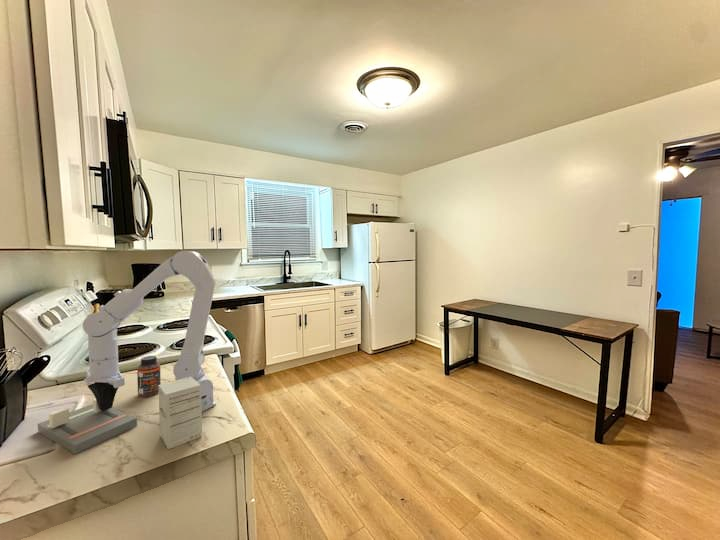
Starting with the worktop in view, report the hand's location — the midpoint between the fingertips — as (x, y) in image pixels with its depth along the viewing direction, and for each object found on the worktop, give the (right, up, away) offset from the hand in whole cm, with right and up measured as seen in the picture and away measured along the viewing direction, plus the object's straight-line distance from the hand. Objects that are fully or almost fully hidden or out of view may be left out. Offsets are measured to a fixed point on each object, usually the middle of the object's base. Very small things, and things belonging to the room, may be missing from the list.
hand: (106, 408), depth 77 cm
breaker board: (-1, -3, -4) cm, 5 cm away
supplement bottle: (0, -3, +16) cm, 16 cm away
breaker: (-6, -1, -6) cm, 9 cm away
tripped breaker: (-2, -1, +1) cm, 2 cm away
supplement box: (+24, -4, -7) cm, 25 cm away
